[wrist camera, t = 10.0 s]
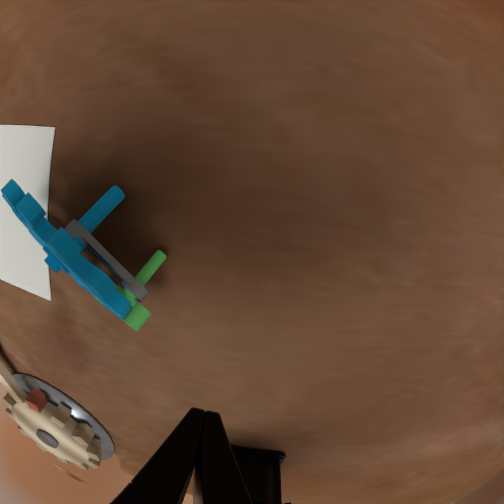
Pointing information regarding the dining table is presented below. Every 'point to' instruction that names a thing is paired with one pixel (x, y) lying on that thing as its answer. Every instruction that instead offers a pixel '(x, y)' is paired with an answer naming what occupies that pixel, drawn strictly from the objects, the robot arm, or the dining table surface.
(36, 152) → the mat
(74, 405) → the wheel base
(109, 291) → the gear
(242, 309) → the dining table surface
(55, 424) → the index wheel
